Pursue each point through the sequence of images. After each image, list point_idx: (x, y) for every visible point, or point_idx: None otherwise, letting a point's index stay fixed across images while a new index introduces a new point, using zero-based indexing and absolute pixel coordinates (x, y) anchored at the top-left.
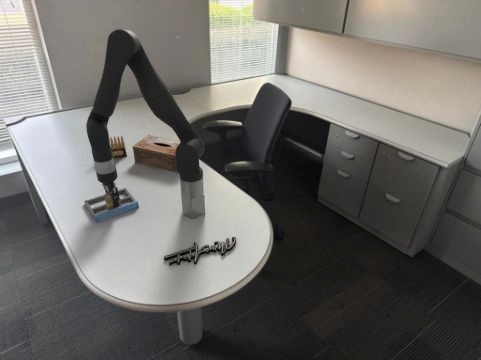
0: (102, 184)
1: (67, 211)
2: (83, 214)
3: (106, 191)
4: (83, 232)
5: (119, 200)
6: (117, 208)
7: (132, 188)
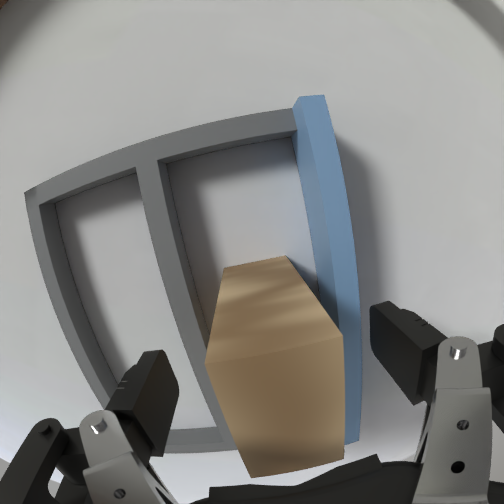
0: (81, 486)
1: (188, 484)
2: (237, 453)
3: (162, 443)
4: (380, 438)
5: (310, 295)
6: (357, 309)
7: (34, 144)
